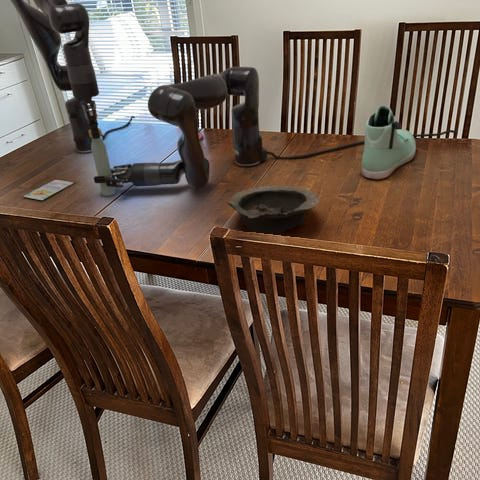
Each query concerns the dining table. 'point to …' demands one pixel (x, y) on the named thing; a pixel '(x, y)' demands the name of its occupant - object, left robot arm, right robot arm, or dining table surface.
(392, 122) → the sneaker
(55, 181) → the baking ingredient package
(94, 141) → the bottle
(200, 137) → the candy cane
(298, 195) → the stone bowl
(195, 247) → the dining table surface
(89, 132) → the cap
